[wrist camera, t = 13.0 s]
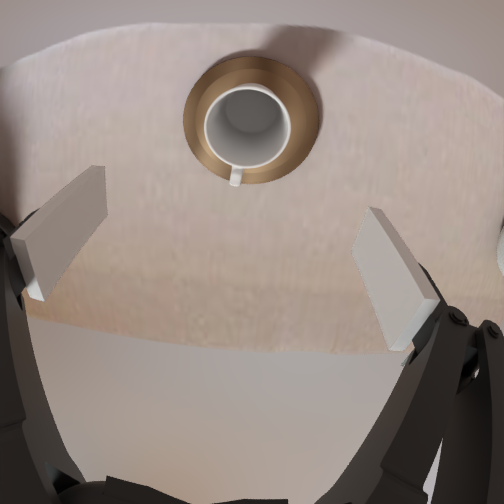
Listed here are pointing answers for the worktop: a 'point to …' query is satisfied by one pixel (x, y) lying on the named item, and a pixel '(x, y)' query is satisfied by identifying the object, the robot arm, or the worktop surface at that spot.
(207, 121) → the mug
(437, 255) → the worktop surface
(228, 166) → the disc
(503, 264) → the cereal bowl
